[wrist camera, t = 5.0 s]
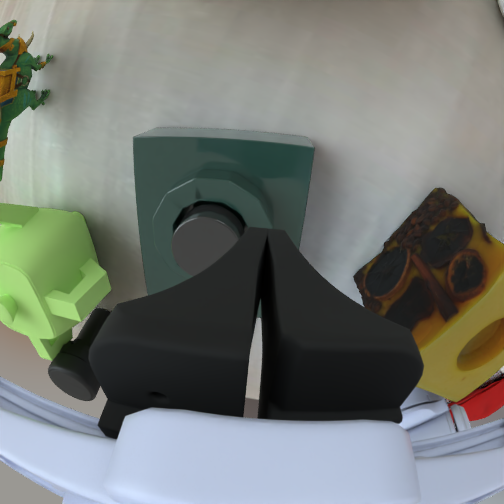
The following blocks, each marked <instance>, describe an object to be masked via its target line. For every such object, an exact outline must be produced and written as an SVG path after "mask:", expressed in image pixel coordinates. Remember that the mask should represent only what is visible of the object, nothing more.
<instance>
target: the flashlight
mask: <svg viewBox="0 0 504 504" xmlns="http://www.w3.org/2000/svg"><path fill="white" fill-rule="evenodd" d="M109 315H110V312H108V311H106V310H104V309H95V310H93V312H92V313H91V315H90V317H89V319H88V320H87V322H86V323H85V325H84V326H83V328H82V330H81V331H80V333H79V335H78V337H77V338H76V339H75V340H74V341H69V342H68V343H67V344H64V345H63V346H62V348H61V350H60V352H59V353H58V354H57V356H56V357H55V358H54V359H53V361H52V362H51V364H50V366H49V368H48V374H49V376H50V378H51V380H52V381H53V382H54V383H55V385H57V387H59V388H60V389H61V390H62V391H64V392H65V393H67V394H68V395H70V396H72V397H74V398H77V399H79V400H83V401H91V400H93V399H94V398H95V397H96V395H97V392H98V390H99V388H100V384H99V382H98V380H97V378H96V376H95V374H94V372H93V370H92V368H91V365H90V362H89V359H88V358H89V349H90V347H91V345H92V344H93V342H94V340H95V338H96V336H97V335H98V333H99V331H100V329H101V328H102V326H103V324H104V322H105V321H106V319H107V317H108V316H109Z"/></svg>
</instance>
